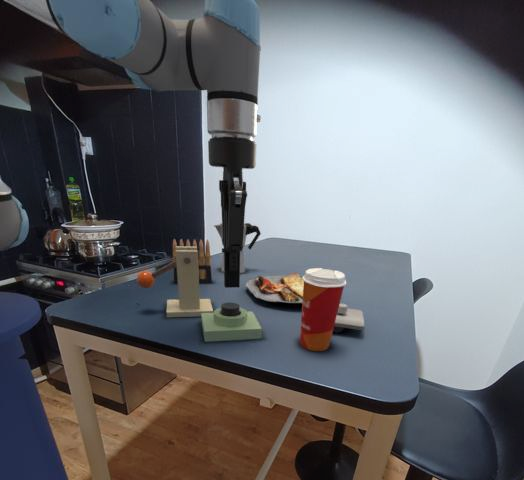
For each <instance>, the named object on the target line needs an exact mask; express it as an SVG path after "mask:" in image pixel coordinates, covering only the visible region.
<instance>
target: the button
mask: <svg viewBox="0 0 524 480" xmlns="http://www.w3.org/2000/svg"><path fill="white" fill-rule="evenodd" d="M220 308H221V314H222V315H224V316H229V317H230V316H238V315H239V314H240V308H241V307H240V304H239V303H236V302H224V303H222V304H221V306H220Z"/></svg>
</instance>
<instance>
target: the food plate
mask: <svg viewBox="0 0 524 480" xmlns="http://www.w3.org/2000/svg"><path fill="white" fill-rule="evenodd" d="M302 278H303V276H300V275H299V273H298V272H294V273H291V274H288V275H283V274H282V275H281V274H280V275H275V274H273V275H263V276H262V275H257V277H253V278H250V279H249V280H248V281H246V282H245V284H244V286H245V287H246V288H247V290H248V291H249V292H250V293H251V294H253V296H254V297H255V298H256V299H259V300H263V301H266V302H274V303H280V304H290V305H291V304H292V305H295V304H302V302H303V287H304V281H303V279H302Z"/></svg>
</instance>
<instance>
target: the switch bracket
mask: <svg viewBox="0 0 524 480" xmlns="http://www.w3.org/2000/svg"><path fill="white" fill-rule="evenodd" d="M189 248H190V250H187V249H189ZM176 263H177V277H178V284H177V290H178V299H166V318H189V317H191V318H193V317H195V318H196V317H201V313H214V309H213V305H212V301H211V298H201V297H200V283H199V271H198V264H199V250H198V246H197V247H193V245H192V246H191V245H190V246H186V245H185V246H180V245H177V246H176Z"/></svg>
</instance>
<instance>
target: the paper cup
mask: <svg viewBox="0 0 524 480" xmlns="http://www.w3.org/2000/svg"><path fill="white" fill-rule="evenodd" d="M302 277H303V278H302V279H303V281H304V287H303V302H302V303H301V304H302V305H301V319H300V335H299V336H300V337H299V342H300V343H299V344H300V345H301V347H302V348H304V349H305V350H308V351H312V352H322V351H326V350H327V349H328V348H329V347H330V343H331V340H332V337H333V333H334V331H333V328H334V324H335V320H336V316H337V312H338V308H339V304H340V303H341V300H342V295H343V291H344V288H345V286H346V285H347V280H346V274H345V273H344V272H341V271H340V270H332V269H329V268H325V269H324V268H323V267H314V268H308V269H306V270H305V273H304V275H303V276H302Z"/></svg>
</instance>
